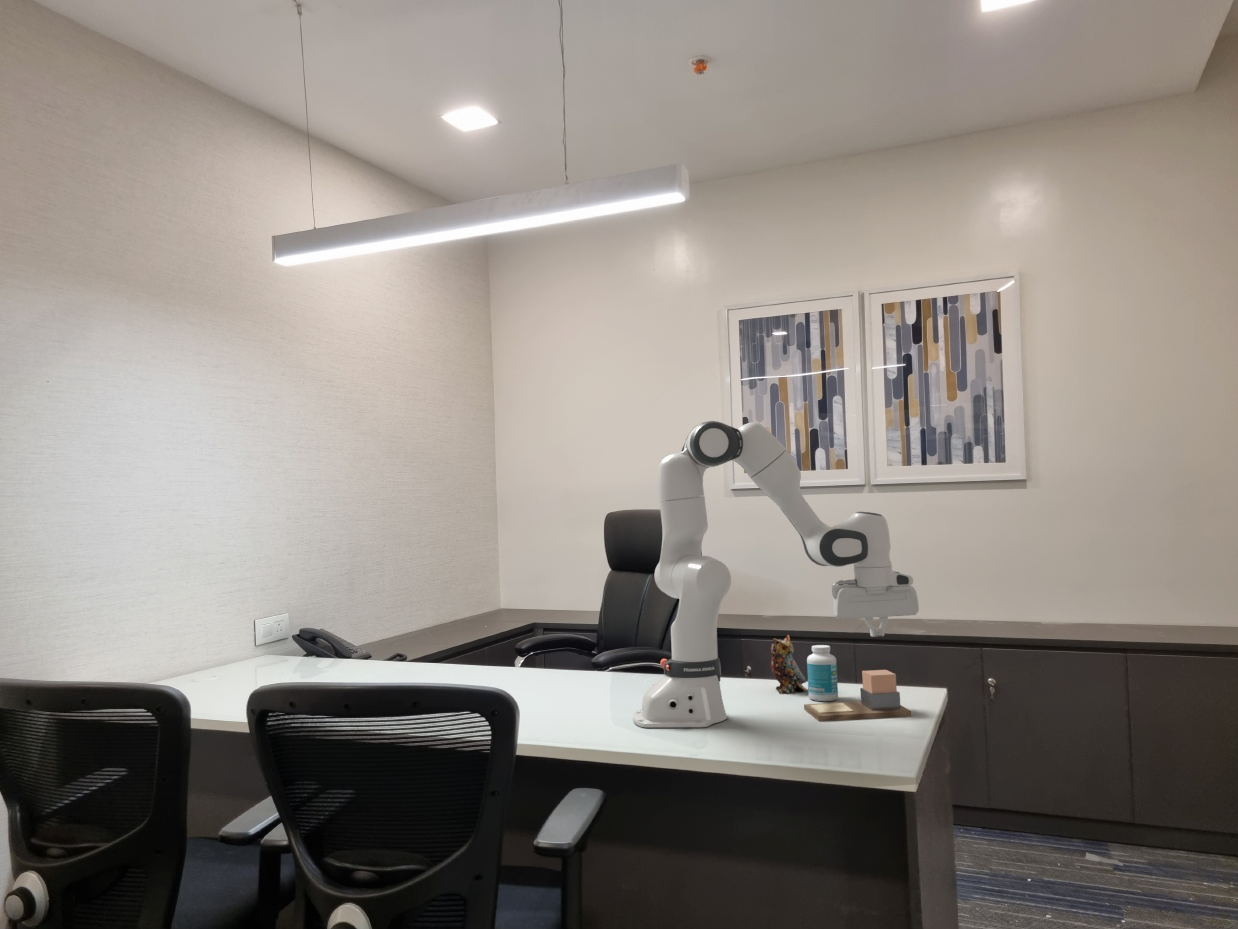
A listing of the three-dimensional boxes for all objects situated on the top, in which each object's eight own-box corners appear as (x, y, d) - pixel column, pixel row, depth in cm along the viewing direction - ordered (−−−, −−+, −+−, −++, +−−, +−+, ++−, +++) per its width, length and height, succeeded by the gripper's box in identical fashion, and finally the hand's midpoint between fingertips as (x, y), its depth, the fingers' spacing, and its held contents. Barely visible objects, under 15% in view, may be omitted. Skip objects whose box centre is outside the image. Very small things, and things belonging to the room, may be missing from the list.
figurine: (802, 695, 220) (799, 638, 221) (768, 693, 224) (766, 637, 225) (809, 689, 228) (806, 633, 228) (777, 687, 231) (774, 632, 232)
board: (818, 721, 193) (818, 714, 193) (804, 709, 205) (803, 703, 205) (911, 716, 194) (911, 709, 194) (891, 704, 206) (891, 698, 206)
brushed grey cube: (871, 710, 196) (870, 683, 196) (861, 703, 203) (859, 677, 203) (900, 708, 196) (899, 681, 197) (889, 702, 203) (887, 675, 204)
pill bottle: (839, 702, 211) (836, 648, 211) (809, 702, 212) (806, 648, 213) (837, 696, 218) (834, 643, 219) (808, 695, 219) (805, 644, 220)
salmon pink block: (872, 693, 197) (871, 675, 197) (863, 688, 203) (862, 671, 203) (896, 692, 197) (895, 674, 197) (887, 687, 203) (886, 669, 203)
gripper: (835, 581, 198) (839, 640, 197) (919, 577, 199) (923, 635, 198) (827, 579, 204) (831, 636, 203) (908, 575, 205) (912, 631, 205)
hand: (877, 636), depth 201 cm, fingers closed
